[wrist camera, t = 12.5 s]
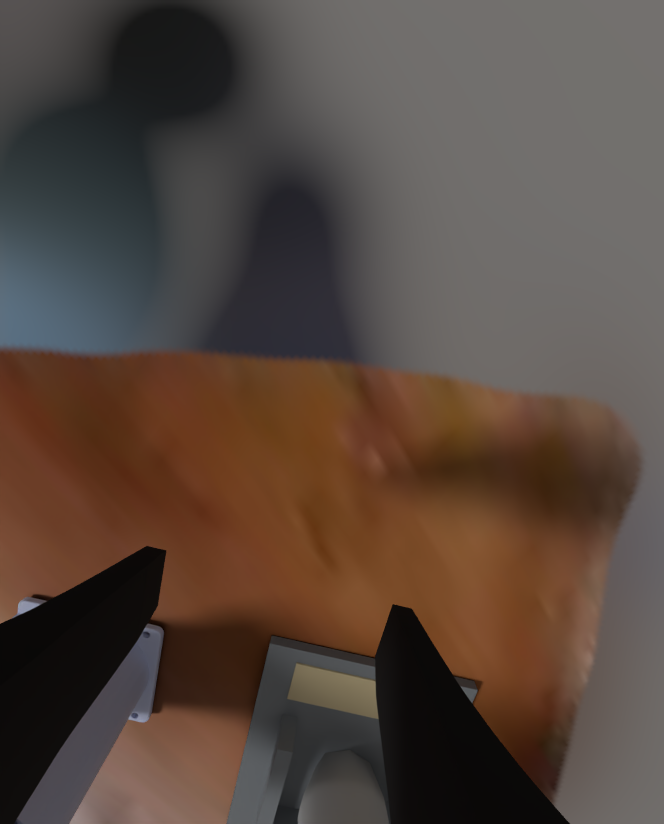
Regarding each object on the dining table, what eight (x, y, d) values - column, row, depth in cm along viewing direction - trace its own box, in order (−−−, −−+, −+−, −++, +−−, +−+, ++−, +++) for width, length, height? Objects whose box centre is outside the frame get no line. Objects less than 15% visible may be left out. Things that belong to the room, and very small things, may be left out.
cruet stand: (227, 821, 26) (214, 873, 23) (271, 635, 22) (262, 673, 20) (400, 858, 26) (406, 913, 24) (474, 681, 22) (490, 724, 20)
